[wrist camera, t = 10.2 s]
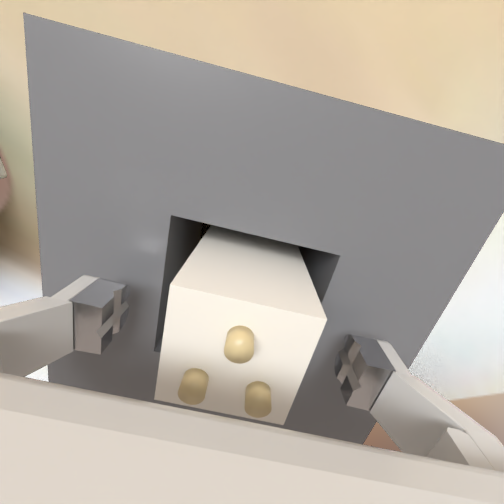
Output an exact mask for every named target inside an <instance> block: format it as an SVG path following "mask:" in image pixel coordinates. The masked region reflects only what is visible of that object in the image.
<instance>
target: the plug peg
mask: <svg viewBox="0 0 504 504" xmlns="http://www.w3.org/2000/svg"><path fill="white" fill-rule="evenodd" d="M326 322H327V318H326V315H325V313H324V310H323V308H322V305H321V303H320V300H319V298H318V295H317V293H316V290H315V288H314V285H313V283H312V280H311V278H310V275H309V273H308V270H307V268H306V265H305V263H304V260H303V258H302V255H301V253H300V250H299V248H298V245H294V244H290V243H286V242H282V241H277V240H273V239H269V238H265V237H261V236H256V235H252V234H248V233H244V232H240V231H236V230H231V229H227V228H223V227H219V226H215V225H211V226H210V228H209V229H208V230H207V232H206V233H205V235H204V236H203V238H202V239H201V241H200V242H199V243H198V245H197V246H196V248H195V249H194V251H193V252H192V253H191V255H190V256H189V258H188V259H187V261H186V262H185V264H184V265H183V266H182V268H181V269H180V271H179V272H178V274H177V275H176V276H175V278H174V279H173V281H172V282H171V284H170V288H169V295H168V303H167V310H166V317H165V324H164V332H163V339H162V346H161V353H160V361H159V368H158V375H157V382H156V390H155V397H154V400H159V401H164V402H169V403H174V404H179V405H184V406H189V407H194V408H199V409H204V410H209V411H214V412H220V413H225V414H230V415H235V416H240V417H245V418H250V419H255V420H260V421H265V422H270V423H275V424H280V425H284V423H285V420H286V418H287V415H288V413H289V410H290V408H291V406H292V403H293V401H294V398H295V396H296V394H297V391H298V389H299V386H300V384H301V382H302V379H303V377H304V374H305V372H306V370H307V367H308V365H309V362H310V360H311V358H312V355H313V353H314V350H315V348H316V346H317V343H318V341H319V338H320V336H321V334H322V331H323V329H324V326H325V324H326Z"/></svg>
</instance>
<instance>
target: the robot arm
mask: <svg viewBox="0 0 504 504" xmlns="http://www.w3.org/2000/svg"><path fill="white" fill-rule="evenodd" d="M129 296H130V286H129V285H128V284H123V283H119V282H115V281H111V280H107V279H103V278H99V277H94V276H90V275H83V276H81V277H80V278H78V279H77V280H75V281H74V282H73V283H71V284H70V285H68V286H67V287H65V288H64V289H62V290H61V291H59V292H58V293H56V294H55V295H53V296H52V297H47V296H45V297H40V298H36V299H32V300H27V301H23V302H19V303H14V304H10V305H6V306H1V307H0V504H504V446H503V445H502V443H501V442H500V441H499V440H498V439H497V437H496V436H495V435H493V434H492V433H491V432H489V431H488V430H487V429H485V428H484V427H483V426H481V425H480V424H478V423H477V422H476V421H475V420H473V419H472V418H471V417H469V416H468V415H467V414H465V413H464V412H463V411H461V410H460V409H459V408H458V407H456V406H455V405H453V404H452V403H451V402H450V401H448V400H447V399H446V398H444V397H443V396H442V395H440V394H439V393H438V392H436V391H435V390H434V389H432V388H431V387H430V386H428V385H427V384H426V383H424V382H423V381H422V380H420V379H419V378H418V377H416V376H412V374H411V373H410V372H409V370H408V369H407V367H406V366H405V364H404V363H403V361H402V360H401V358H400V357H399V356H398V354H397V353H396V351H395V350H394V348H393V347H392V345H391V344H390V343H388V342H387V341H382V340H377V339H370V338H365V337H361V336H356V335H351V334H347V335H346V336H345V337H344V340H343V342H342V343H343V346H344V348H343V349H341V350H340V351H338V353H337V355H336V358H335V363H334V369H335V374H336V377H337V379H338V380H339V381H340V382H341V383H342V386H341V388H340V389H341V392H342V395H343V398H344V401H345V404H346V405H347V406H351V407H355V408H359V409H363V410H368V411H370V413H371V414H372V416H373V417H374V418H375V419H376V421H377V422H378V423H379V424H380V425H381V427H382V428H383V429H384V430H385V432H386V433H387V434H388V435H389V436H390V438H391V439H392V440H393V441H394V443H395V444H396V445H397V446H398V447H399V448H400V450H401V451H402V452H398V451H393V450H388V449H383V448H378V447H373V446H368V445H363V444H358V443H353V442H348V441H343V440H338V439H333V438H328V437H323V436H318V435H313V434H308V433H303V432H298V431H293V430H288V429H283V428H278V427H273V426H268V425H263V424H258V423H253V422H248V421H243V420H238V419H233V418H228V417H223V416H218V415H213V414H208V413H203V412H198V411H192V410H187V409H182V408H177V407H172V406H167V405H162V404H157V403H152V402H147V401H142V400H137V399H132V398H127V397H122V396H117V395H112V394H107V393H102V392H97V391H92V390H87V389H82V388H77V387H72V386H67V385H62V384H57V383H51V382H46V381H41V380H36V379H31V378H26V377H25V376H27V375H29V374H31V373H33V372H34V371H36V370H38V369H40V368H42V367H44V366H46V365H48V364H50V363H52V362H54V361H56V360H58V359H59V358H61V357H63V356H65V355H67V354H69V353H71V352H73V350H77V351H83V352H89V353H94V354H100V355H101V354H102V352H103V351H104V350H105V349H106V347H107V346H108V345H109V344H110V342H111V341H112V334H115V333H117V332H119V331H120V330H121V329H122V327H123V326H124V324H125V322H126V320H127V317H128V313H129V305H128V303H127V302H126V299H127V298H128V297H129Z"/></svg>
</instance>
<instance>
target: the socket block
mask: <svg viewBox="0 0 504 504" xmlns="http://www.w3.org/2000/svg"><path fill="white" fill-rule="evenodd" d="M23 15H24V30H25V44H26V59H27V73H28V88H29V102H30V117H31V131H32V146H33V160H34V175H35V189H36V204H37V218H38V233H39V247H40V262H41V276H42V291H43V297H45V296H47V297H52V296H53V295H55V294H56V293H58V292H59V291H61V290H62V289H64V288H65V287H67V286H68V285H70V284H71V283H73V282H74V281H75V280H77V279H78V278H80V277H81V276H83V275H90V276H94V277H99V278H103V279H107V280H111V281H115V282H119V283H123V284H128V285H129V286H130V296H129V297H128V298H127V299H126V302H127V303H128V305H129V313H128V317H127V320H126V322H125V324H124V326H123V327H122V329H121V330H120V331H119V332H117V333H115V334H112V341H111V342H110V344H109V345H108V346H107V347H106V349H105V350H104V351H103V352H102V354H101V355H100V354H94V353H89V352H83V351H77V350H73V352H71V353H69V354H67V355H65V356H63V357H61V358H59V359H58V360H56V361H54V362H52V363H50V364H48V378H49V382H51V383H57V384H62V385H67V386H72V387H77V388H82V389H87V390H92V391H97V392H102V393H107V394H112V395H117V396H122V397H127V398H132V399H137V400H142V401H147V402H152V403H157V404H162V405H167V406H172V407H177V408H182V409H187V410H192V411H198V412H203V413H208V414H213V415H218V416H223V417H228V418H233V419H238V420H243V421H248V422H253V423H258V424H263V425H268V426H273V427H278V428H283V429H288V430H293V431H298V432H303V433H308V434H313V435H318V436H323V437H328V438H333V439H338V440H343V441H348V442H353V443H358V444H363V443H364V442H365V440H366V438H367V436H368V435H369V433H370V432H371V430H372V428H373V427H374V425H375V423H376V422H377V421H376V419H375V418H374V417H373V416H372V414H371V413H370V411H368V410H363V409H359V408H355V407H351V406H347V405H346V404H345V401H344V398H343V395H342V392H341V389H340V388H341V386H342V383H341V382H340V381H339V380H338V379H337V377H336V374H335V369H334V363H335V358H336V355H337V353H338V351H340V350H341V349H343V348H344V346H343V343H342V342H343V340H344V337H345V336H346V335H347V334H351V335H356V336H361V337H365V338H370V339H377V340H382V341H387V342H388V343H390V344H391V345H392V347H393V348H394V350H395V351H396V353H397V354H398V356H399V357H400V358H401V360H402V361H403V363H404V364H405V366H406V367H407V369H409V367H410V366H411V364H412V362H413V361H414V359H415V357H416V356H417V354H418V352H419V351H420V349H421V347H422V346H423V344H424V342H425V341H426V339H427V338H428V336H429V334H430V333H431V331H432V329H433V328H434V326H435V324H436V323H437V321H438V319H439V318H440V316H441V314H442V313H443V311H444V309H445V308H446V306H447V305H448V303H449V301H450V300H451V298H452V296H453V295H454V293H455V291H456V290H457V288H458V286H459V285H460V283H461V281H462V280H463V278H464V276H465V275H466V273H467V271H468V270H469V268H470V267H471V265H472V263H473V262H474V260H475V258H476V257H477V255H478V253H479V252H480V250H481V248H482V247H483V245H484V243H485V242H486V240H487V238H488V237H489V235H490V233H491V232H492V230H493V229H494V227H495V225H496V224H497V222H498V220H499V219H500V217H501V215H502V214H503V212H504V144H502V143H498V142H495V141H491V140H487V139H484V138H480V137H476V136H473V135H469V134H465V133H462V132H458V131H454V130H451V129H447V128H443V127H440V126H436V125H432V124H429V123H425V122H421V121H418V120H414V119H411V118H407V117H403V116H400V115H396V114H392V113H389V112H385V111H381V110H378V109H374V108H370V107H367V106H363V105H359V104H356V103H352V102H348V101H345V100H341V99H337V98H334V97H330V96H326V95H323V94H319V93H315V92H312V91H308V90H304V89H301V88H297V87H293V86H290V85H286V84H282V83H279V82H275V81H272V80H268V79H264V78H261V77H257V76H253V75H250V74H246V73H242V72H239V71H235V70H231V69H228V68H224V67H220V66H217V65H213V64H209V63H206V62H202V61H198V60H195V59H191V58H187V57H184V56H180V55H176V54H173V53H169V52H165V51H162V50H158V49H154V48H151V47H147V46H144V45H140V44H136V43H133V42H129V41H125V40H122V39H118V38H114V37H111V36H107V35H103V34H100V33H96V32H92V31H89V30H85V29H81V28H78V27H74V26H70V25H67V24H63V23H59V22H56V21H52V20H48V19H45V18H41V17H37V16H34V15H30V14H26V13H23ZM202 223H206V224H210V225H215V226H219V227H223V228H227V229H231V230H236V231H240V232H244V233H248V234H252V235H256V236H261V237H265V238H269V239H273V240H277V241H282V242H286V243H290V244H294V245H298V248H299V250H300V253H301V255H302V258H303V260H304V263H305V265H306V268H307V270H308V273H309V275H310V278H311V280H312V283H313V285H314V288H315V290H316V293H317V295H318V298H319V300H320V303H321V305H322V308H323V310H324V313H325V315H326V318H327V322H326V324H325V326H324V329H323V331H322V334H321V336H320V338H319V341H318V343H317V346H316V348H315V350H314V353H313V355H312V358H311V360H310V362H309V365H308V367H307V370H306V372H305V374H304V377H303V379H302V382H301V384H300V386H299V389H298V391H297V394H296V396H295V398H294V401H293V403H292V406H291V408H290V410H289V413H288V415H287V418H286V420H285V423H284V425H280V424H275V423H270V422H265V421H260V420H255V419H250V418H245V417H240V416H235V415H230V414H225V413H220V412H214V411H209V410H204V409H199V408H194V407H189V406H184V405H179V404H174V403H169V402H164V401H159V400H154V397H155V390H156V382H157V375H158V368H159V361H160V353H161V346H162V339H163V332H164V324H165V317H166V310H167V303H168V295H169V288H170V284H171V282H172V281H173V279H174V278H175V276H176V275H177V274H178V272H179V271H180V269H181V268H182V266H183V265H184V264H185V262H186V261H187V259H188V258H189V256H190V255H191V253H192V252H193V251H194V249H195V248H196V246H197V245H198V243H199V240H200V234H201V229H202Z"/></svg>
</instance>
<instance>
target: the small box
mask: <svg viewBox="0 0 504 504" xmlns="http://www.w3.org/2000/svg"><path fill="white" fill-rule="evenodd" d="M6 177H7V173H6V170H5V168H4V165H3V162H2V160H1V157H0V179H1V178H6Z"/></svg>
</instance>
